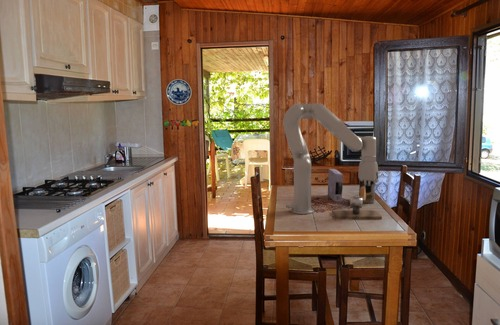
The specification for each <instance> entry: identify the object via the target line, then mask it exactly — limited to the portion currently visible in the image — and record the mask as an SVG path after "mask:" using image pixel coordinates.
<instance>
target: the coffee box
mask: <svg viewBox="0 0 500 325" xmlns="http://www.w3.org/2000/svg"><path fill="white" fill-rule="evenodd" d="M361 187H365V185H364V183H363V182H362V181H360V180H359V189H358V196H359V197H360V190H361ZM375 187H376V183H374V184H373V185H372V191H371V193H366V200H364V201H363V204H375V194H376V192H375V191H376V188H375Z"/></svg>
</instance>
